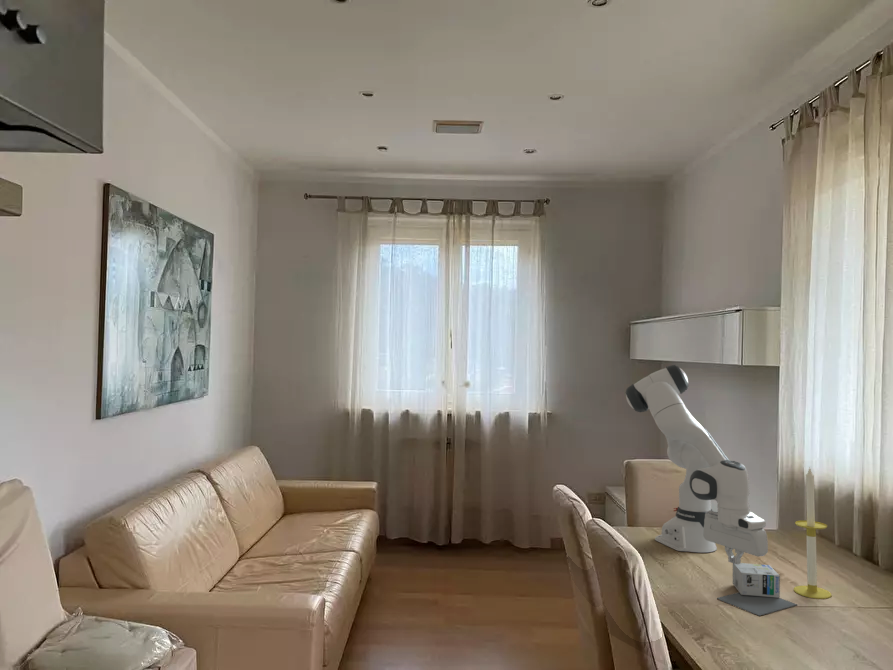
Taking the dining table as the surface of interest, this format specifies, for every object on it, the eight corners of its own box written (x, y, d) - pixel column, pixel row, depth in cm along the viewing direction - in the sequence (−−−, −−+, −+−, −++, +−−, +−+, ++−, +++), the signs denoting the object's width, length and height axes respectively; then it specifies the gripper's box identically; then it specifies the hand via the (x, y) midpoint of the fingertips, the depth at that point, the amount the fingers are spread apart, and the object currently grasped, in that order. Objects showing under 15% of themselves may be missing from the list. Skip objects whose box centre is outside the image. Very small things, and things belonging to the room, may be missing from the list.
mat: (717, 599, 189) (717, 597, 189) (753, 589, 196) (753, 588, 196) (759, 616, 176) (759, 615, 176) (797, 605, 184) (797, 604, 184)
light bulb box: (740, 595, 190) (780, 599, 188) (740, 572, 190) (780, 575, 188) (732, 583, 200) (769, 586, 198) (732, 561, 201) (769, 564, 198)
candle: (836, 600, 187) (833, 470, 188) (797, 597, 190) (794, 468, 191) (826, 588, 196) (824, 464, 197) (790, 585, 199) (787, 463, 200)
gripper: (698, 510, 201) (698, 554, 200) (756, 525, 183) (757, 575, 182) (712, 507, 204) (713, 551, 203) (770, 522, 185) (771, 571, 185)
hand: (734, 563), depth 193 cm, fingers closed
